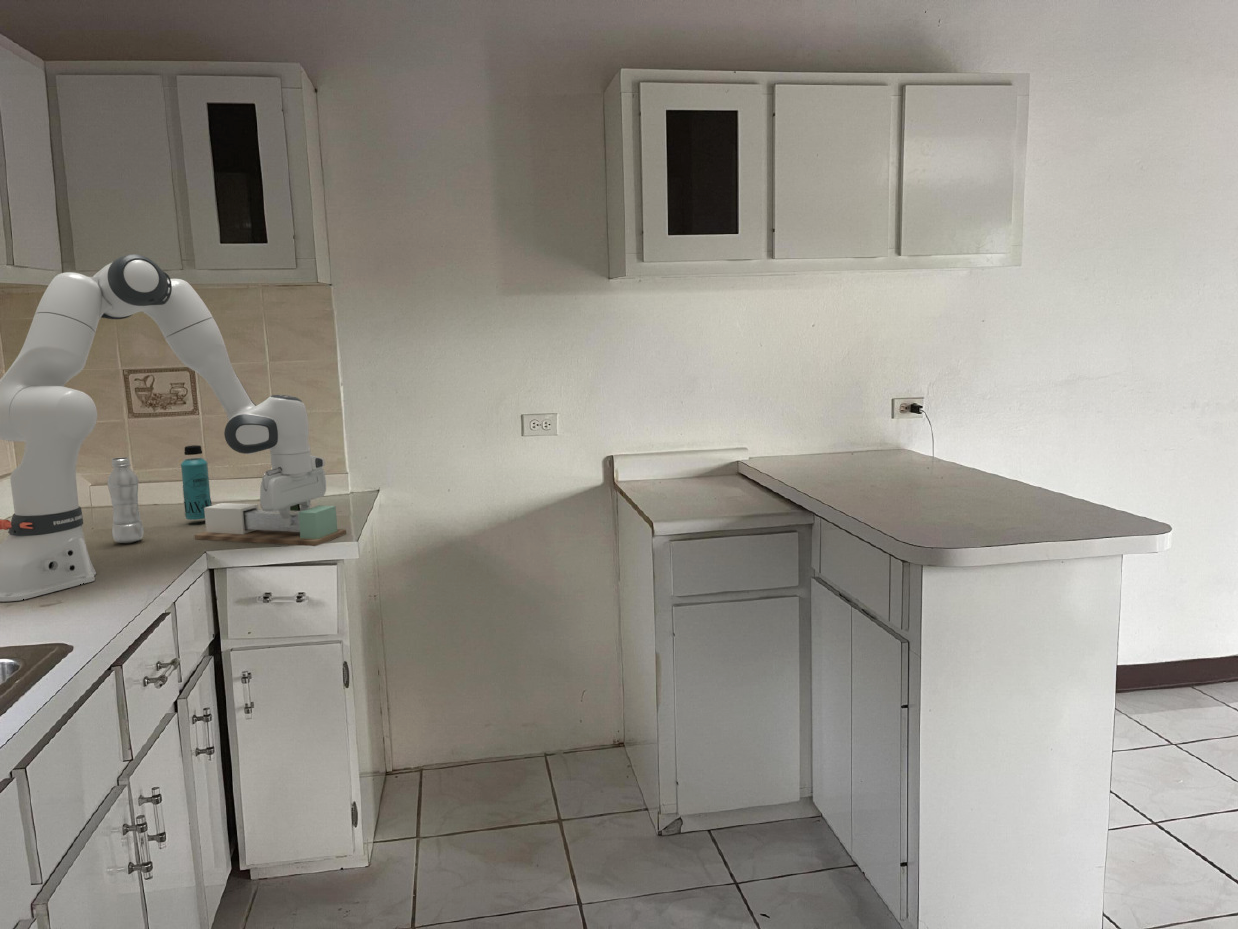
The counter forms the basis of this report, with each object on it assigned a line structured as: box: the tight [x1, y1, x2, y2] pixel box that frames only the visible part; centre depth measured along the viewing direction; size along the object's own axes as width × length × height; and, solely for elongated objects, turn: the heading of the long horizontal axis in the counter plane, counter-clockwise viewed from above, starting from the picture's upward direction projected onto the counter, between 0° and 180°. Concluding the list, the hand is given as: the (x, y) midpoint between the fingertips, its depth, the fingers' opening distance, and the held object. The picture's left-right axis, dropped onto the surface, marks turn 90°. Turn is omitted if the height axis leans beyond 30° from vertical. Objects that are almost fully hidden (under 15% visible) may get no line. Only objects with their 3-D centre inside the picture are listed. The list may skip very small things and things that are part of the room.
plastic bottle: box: [106, 456, 145, 544], centre depth 221 cm, size 6×7×20 cm
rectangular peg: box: [244, 508, 301, 532], centre depth 223 cm, size 20×4×4 cm, turn 73°
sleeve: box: [204, 502, 259, 534], centre depth 227 cm, size 11×6×6 cm, turn 73°
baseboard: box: [193, 528, 347, 547], centre depth 224 cm, size 34×12×1 cm, turn 73°
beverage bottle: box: [180, 444, 212, 521], centre depth 241 cm, size 6×7×20 cm
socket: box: [298, 505, 338, 539], centre depth 220 cm, size 4×8×6 cm, turn 163°
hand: (296, 522), depth 222 cm, fingers closed on rectangular peg, 4 cm apart
